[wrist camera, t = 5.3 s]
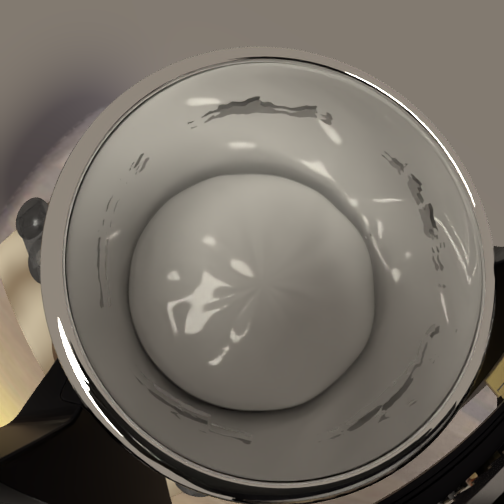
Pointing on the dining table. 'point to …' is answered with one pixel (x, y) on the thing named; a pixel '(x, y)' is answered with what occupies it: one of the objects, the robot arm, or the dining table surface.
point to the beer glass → (268, 276)
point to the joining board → (32, 307)
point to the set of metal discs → (31, 232)
